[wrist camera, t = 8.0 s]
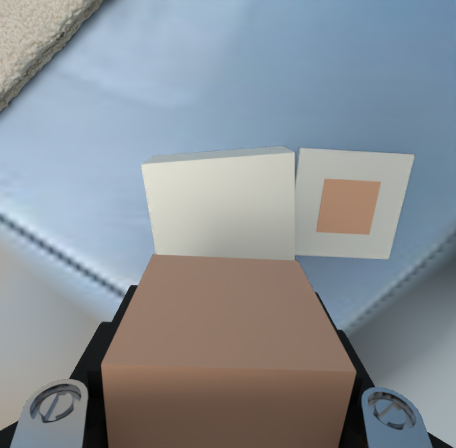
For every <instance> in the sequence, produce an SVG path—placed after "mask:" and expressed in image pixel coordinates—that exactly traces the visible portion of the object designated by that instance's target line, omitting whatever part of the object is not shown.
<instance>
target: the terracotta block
mask: <svg viewBox="0 0 456 448" xmlns="http://www.w3.org/2000/svg"><path fill="white" fill-rule="evenodd" d="M101 369H102V380H103V391H104V402H105V413H106V424H107V435H108V446H109V448H338V445H339V441H340V437H341V433H342V429H343V425H344V421H345V417H346V413H347V408H348V404H349V400H350V396H351V392H352V388H353V384H354V380H355V376H356V370H355V368H354V366H353V364H352V362H351V360H350V358H349V356H348V355H347V353H346V351H345V349H344V347H343V345H342V343H341V341H340V339H339V337H338V336H337V334H336V332H335V330H334V328H333V326H332V324H331V322H330V320H329V318H328V317H327V315H326V313H325V311H324V309H323V307H322V305H321V303H320V301H319V299H318V298H317V296H316V294H315V292H314V290H313V288H312V286H311V284H310V282H309V280H308V279H307V277H306V275H305V273H304V271H303V269H302V267H301V265H300V263H299V261H296V260H272V259H249V258H226V257H203V256H179V255H156V254H153V255H152V257H151V259H150V261H149V263H148V266H147V268H146V270H145V272H144V274H143V276H142V278H141V280H140V283H139V285H138V287H137V289H136V291H135V293H134V295H133V297H132V300H131V302H130V304H129V306H128V308H127V310H126V312H125V314H124V317H123V319H122V321H121V323H120V325H119V327H118V329H117V332H116V334H115V336H114V338H113V340H112V342H111V344H110V346H109V349H108V351H107V353H106V355H105V357H104V359H103V361H102V363H101Z"/></svg>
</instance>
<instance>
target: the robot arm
mask: <svg viewBox="0 0 456 448" xmlns="http://www.w3.org/2000/svg"><path fill="white" fill-rule="evenodd" d="M137 287H138V285H131V286H130V287H129V289H128V291H127V293H126V295H125V297H124V299H123V301H122V303H121V305H120V307H119V309H118V311H117V313H116V314H115V316H114V318H113V320H112V322H102V323H101V324H100V325H99V327H98V329H97V330H96V332H95V334H94V336H93V338H92V339H91V341H90V343H89V344H88V346H87V348H86V350H85V352H84V353H83V355H82V357H81V359H80V360H79V362H78V364H77V366H76V367H75V369H74V371H73V373H72V374H71V376H70V378H69V379H63V380H58V381H54V382H51V383H49V384H47V385H45V386H43V387H41V388H40V389H39V390H37V391H36V392H35V393H33V395H31V397H30V398H29V399H28V400H27V401H26V403H25V405H24V407H23V410H22V412H21V415H20V419H19V421H17V422H15V423H13V424H12V425H10V426H8V427H6V428H4V429H3V430H1V431H0V448H109V446H108V435H107V424H106V413H105V402H104V391H103V380H102V369H101V363H102V361H103V359H104V357H105V355H106V353H107V351H108V349H109V346H110V344H111V342H112V340H113V338H114V336H115V334H116V332H117V329H118V327H119V325H120V323H121V321H122V319H123V317H124V314H125V312H126V310H127V308H128V306H129V304H130V302H131V300H132V297H133V295H134V293H135V291H136V289H137ZM315 294H316V296H317V298H318V299H319V301H320V303H321V305H322V307H323V309H324V311H325V313H326V315H327V317H328V318H329V320H330V322H331V324H332V326H333V328H334V330H335V332H336V334H337V336H338V337H339V339H340V341H341V343H342V345H343V347H344V349H345V351H346V353H347V355H348V356H349V358H350V360H351V362H352V364H353V366H354V368H355V370H356V376H355V380H354V384H353V388H352V392H351V396H350V400H349V404H348V408H347V413H346V417H345V421H344V425H343V429H342V433H341V437H340V441H339V445H338V448H453V447H451V446H450V445H448V444H446V443H445V442H443V441H441V440H440V439H438V438H437V437H435V436H433V435H432V434H430V433H428V432H427V430H426V428H425V425H424V422H423V419H422V417H421V415H420V413H419V411H418V409H417V408H416V407H415V406H414V405H413V404H412V402H410V401H409V400H408V399H407V398H405V397H404V396H403V395H401V394H399V393H397V392H395V391H393V390H390V389H387V388H380V387H375V386H374V384H373V382H372V380H371V379H370V377H369V375H368V373H367V372H366V370H365V368H364V366H363V364H362V363H361V361H360V359H359V358H358V356H357V354H356V353H355V350H354V349H353V347H352V345H351V344H350V342H349V340H348V338H347V336H346V334H345V333H344V332H343V331H342V330H337V328H336V326H335V325H334V323H333V321H332V319H331V317H330V315H329V313H328V312H327V310H326V308H325V306H324V304H323V302H322V301H321V299H320V297H319V295H318V293H317V292H315Z"/></svg>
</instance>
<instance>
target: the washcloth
mask: <svg viewBox="0 0 456 448" xmlns="http://www.w3.org/2000/svg"><path fill="white" fill-rule="evenodd" d="M103 1H104V0H0V111H2V110H3V108H4V106H5V107H8V102H9V101H10V100H11V99H12V98H13V97H16V96H17V95H18V93H19V92H20V90H21V89H22V88H23V87H24V85H25V84H26V83H27V82H28V81H29V80H30V78H31V77H33V76H34V75H36V74H37V71H38V70H41V69H42V67H43V66H44V65H45V64H46V63H49V62H50V61H51V60H52V56H53V55H54V54H55V53H57V52H58V51H61V50H62V47H65V45H66V42H67V41H69V40H70V39H71V36H72V35H73V34H74V33H76V32H77V30H78V28H79V27H80V26H81V24H82V22H83V21H84V20H87V19H88V18H89V17H90V16H91V14H92V13H94V12H95V11H96V10H98V9H99V6H100V4H101V3H102V2H103Z"/></svg>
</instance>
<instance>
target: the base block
mask: <svg viewBox="0 0 456 448" xmlns="http://www.w3.org/2000/svg"><path fill="white" fill-rule="evenodd" d="M141 166H142V172H143V178H144V184H145V190H146V196H147V202H148V209H149V215H150V221H151V227H152V233H153V239H154V245H155V251H156V255H179V256H203V257H226V258H249V259H272V260H295V152H293V151H291V150H290V149H288V148H286V147H284V146H274V147H261V148H248V149H235V150H222V151H209V152H196V153H183V154H170V155H157V156H153V157H151V158H150V159H148V160H147V161H145V162H144V163H142V164H141Z"/></svg>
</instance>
